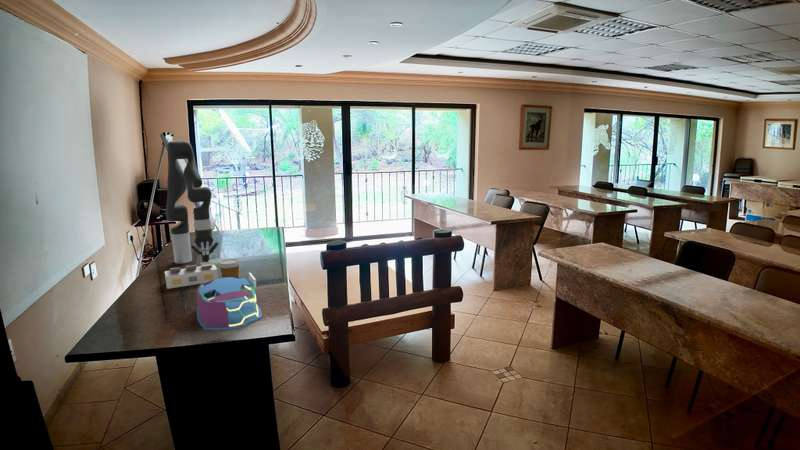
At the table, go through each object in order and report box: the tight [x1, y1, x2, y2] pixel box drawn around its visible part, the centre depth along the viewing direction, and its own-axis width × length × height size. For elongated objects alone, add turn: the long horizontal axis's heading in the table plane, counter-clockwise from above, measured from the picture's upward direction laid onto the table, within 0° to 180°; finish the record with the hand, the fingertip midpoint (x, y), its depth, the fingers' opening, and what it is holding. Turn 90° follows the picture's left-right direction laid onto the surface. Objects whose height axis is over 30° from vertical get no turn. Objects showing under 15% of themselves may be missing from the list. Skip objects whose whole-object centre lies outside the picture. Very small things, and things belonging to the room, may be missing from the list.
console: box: [164, 264, 219, 290], centre depth 218 cm, size 10×23×7 cm, turn 120°
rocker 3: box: [199, 260, 213, 269], centre depth 220 cm, size 8×4×1 cm, turn 30°
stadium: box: [195, 272, 263, 331], centre depth 179 cm, size 35×24×14 cm
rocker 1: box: [169, 267, 182, 272], centre depth 213 cm, size 8×4×1 cm, turn 30°
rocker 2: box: [184, 264, 197, 270], centre depth 217 cm, size 8×4×1 cm, turn 30°
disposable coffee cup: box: [218, 258, 240, 279], centre depth 212 cm, size 10×10×12 cm
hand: (206, 261), depth 217 cm, fingers closed
